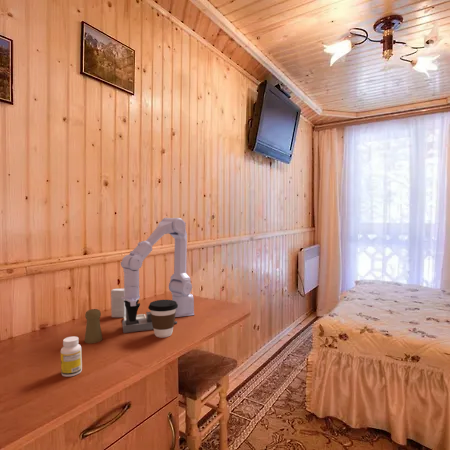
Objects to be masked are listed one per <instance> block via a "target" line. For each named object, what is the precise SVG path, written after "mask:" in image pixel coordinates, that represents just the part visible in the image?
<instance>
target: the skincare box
mask: <svg viewBox="0 0 450 450" xmlns="http://www.w3.org/2000/svg"><path fill="white" fill-rule="evenodd" d="M110 295H111V296H110V299H111V301H110V304H111V312H110V313H111V318H124V316H126V307H125V303H124V301H125V300H122V299H121V297H124V288H113V289H111V290H110Z"/></svg>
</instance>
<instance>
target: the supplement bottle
mask: <svg viewBox="0 0 450 450" xmlns="http://www.w3.org/2000/svg"><path fill="white" fill-rule="evenodd" d="M62 340H63V341H62V345H63V346H62V347H61V349H60V369H61V370H60V374H61V376H62V377H67V378H68V377H74V376H78V375H79V374H81V372H82V370H83V360H82V359H83V358H82V346H81V344H79V340H80V339H79V337H78V336H67V337H65V338H64V339H62Z"/></svg>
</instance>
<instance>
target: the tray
mask: <svg viewBox="0 0 450 450" xmlns="http://www.w3.org/2000/svg"><path fill="white" fill-rule="evenodd" d="M142 318H146V314H145V313H144V314H143V313H140V314H137V315H136V319H142ZM124 320H126V316H124V317H123V321H124Z"/></svg>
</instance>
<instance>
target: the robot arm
mask: <svg viewBox="0 0 450 450" xmlns="http://www.w3.org/2000/svg"><path fill="white" fill-rule="evenodd" d="M186 224H187V223H186V221H184V219H183V218H181V217H164V218H162V219H161V220H160V221H159V222H158V225H157V227H156V228H155V229H154V230H153V231H152V232H151V234H150V235H149V236H148V238H147V239H146V240H142V241H138V242H137V245H136V246H135V247H134V248H133V250H130V252H129V254H126V255H125V256H123V258H122V260H121V261H120V265H121V268H123V289H124V297H121V299H122V300H125V301H124V303H125V307H126V309H127V311H128V316H129V321H130V322H133V321H135V320H136V315H138V311H139V308H140V306H141V303H140V302H139V301H140V300H139V299H141V297H140V269H141V268H142V266H143V262H144V260H145V259H146V258H147V257H149V255H150V253H152V251H153V246H154V245H155V244H156V243H157V242H158V241H159V240H160V239H161V238H163V237H164V236H165V235H167V234H169V235H170V236H171V237H172V238H174V253H173V254H174V255H173V256H174V258H173V259H174V260H173V261H174V262H173V263H174V264H173V274H172V275H171V276H170V281H169V282H168V290H169V291H170V292H171V293H170V294H171V296H172V298H171V300H173V301H176V302H177V304H178V308H176V314H175V318H179V317H180V318H181V317H187V316H188V317H189V316H195V300H194V295H193V294H192V293H191V292H192V288H193V285H192V283H191V280H192V279H191V277H190V276H189V275H188V273H187V262H188V261H187V259H188V258H187V257H188V256H187V253H188V248H187V247H188V234H187V230H186V229H187V228H186Z"/></svg>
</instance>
